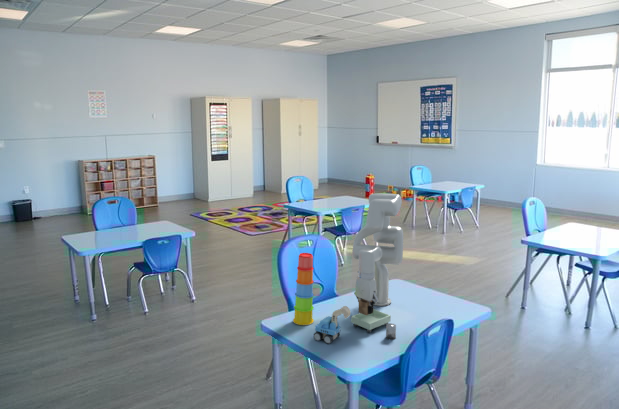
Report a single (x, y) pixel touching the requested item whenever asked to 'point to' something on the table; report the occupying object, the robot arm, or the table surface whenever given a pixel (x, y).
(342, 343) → the table surface
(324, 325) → the toy excavator
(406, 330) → the table surface
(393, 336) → the grey metal cylinder
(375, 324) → the parts cart
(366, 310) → the walnut block
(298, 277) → the stacking cups
